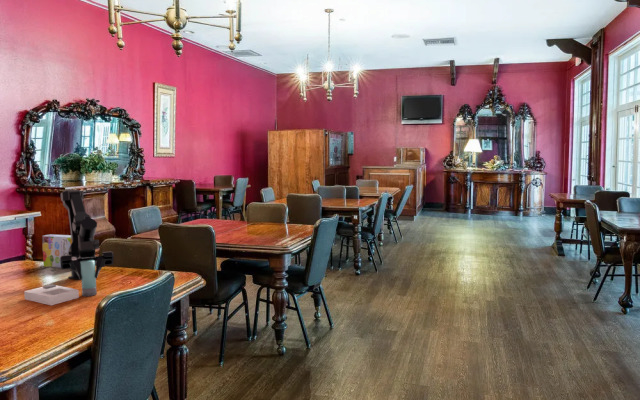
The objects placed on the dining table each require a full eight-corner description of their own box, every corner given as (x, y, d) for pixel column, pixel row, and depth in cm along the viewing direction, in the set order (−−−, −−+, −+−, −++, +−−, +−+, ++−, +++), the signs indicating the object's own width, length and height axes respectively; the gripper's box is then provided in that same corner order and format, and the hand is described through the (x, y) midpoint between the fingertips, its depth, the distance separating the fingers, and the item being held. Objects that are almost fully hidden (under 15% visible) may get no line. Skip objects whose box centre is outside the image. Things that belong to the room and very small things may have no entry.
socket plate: (24, 299, 190) (24, 289, 190) (52, 291, 200) (52, 282, 199) (51, 305, 182) (50, 295, 182) (78, 297, 192) (78, 288, 192)
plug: (79, 295, 195) (77, 261, 194) (90, 292, 199) (89, 259, 198) (87, 297, 192) (86, 263, 191) (99, 293, 197) (97, 260, 195)
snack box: (86, 267, 242) (85, 235, 241) (77, 269, 237) (76, 237, 235) (52, 264, 249) (50, 233, 248) (42, 266, 244) (40, 235, 242)
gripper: (59, 234, 193) (59, 269, 184) (112, 231, 201) (115, 264, 192) (60, 251, 201) (61, 285, 192) (111, 247, 209) (114, 280, 200)
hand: (88, 278), depth 194 cm, fingers closed on plug, 5 cm apart
